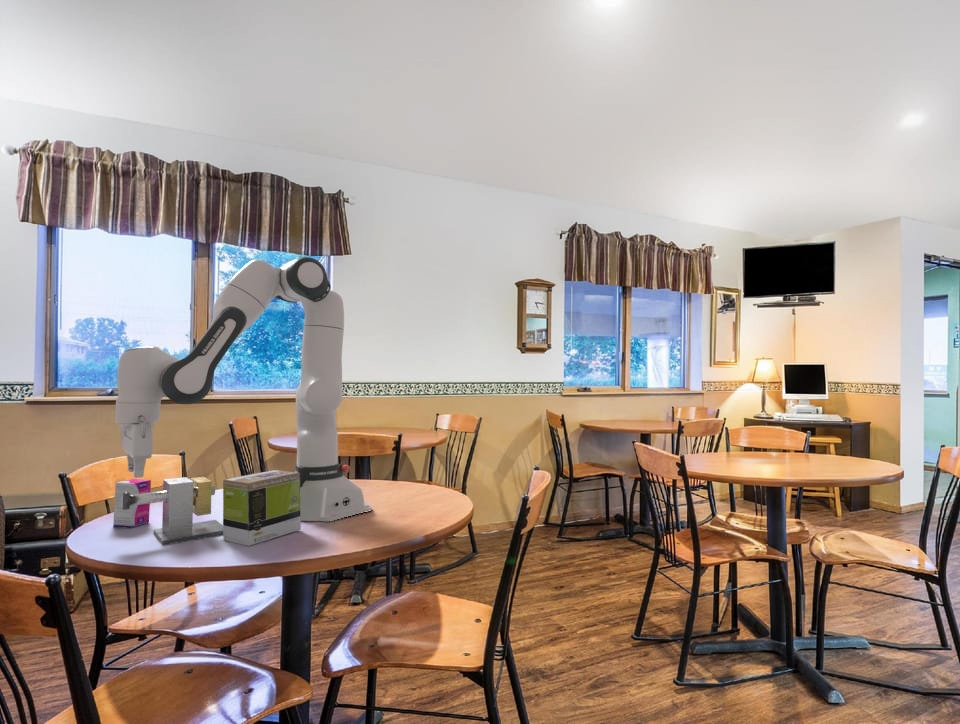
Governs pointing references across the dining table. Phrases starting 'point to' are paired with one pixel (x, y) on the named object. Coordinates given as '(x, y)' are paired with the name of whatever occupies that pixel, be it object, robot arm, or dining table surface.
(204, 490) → the block
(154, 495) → the shaft
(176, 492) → the stand
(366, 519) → the dining table surface
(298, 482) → the tea box
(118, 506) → the supplement box
